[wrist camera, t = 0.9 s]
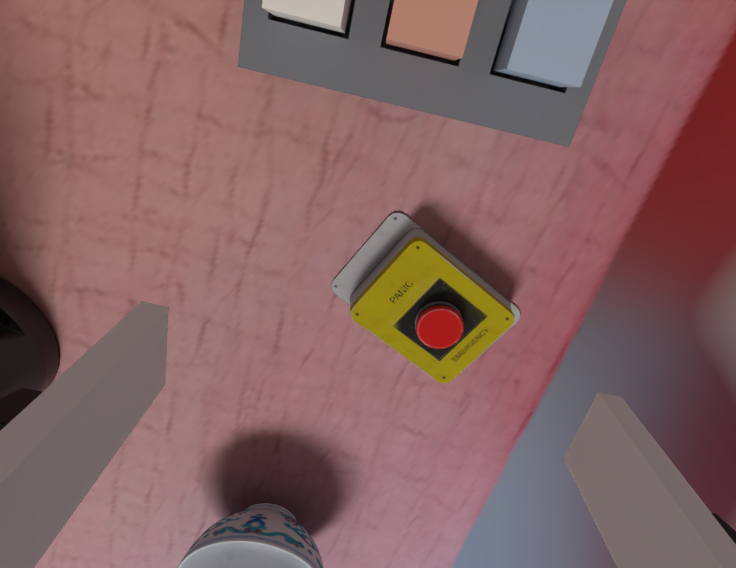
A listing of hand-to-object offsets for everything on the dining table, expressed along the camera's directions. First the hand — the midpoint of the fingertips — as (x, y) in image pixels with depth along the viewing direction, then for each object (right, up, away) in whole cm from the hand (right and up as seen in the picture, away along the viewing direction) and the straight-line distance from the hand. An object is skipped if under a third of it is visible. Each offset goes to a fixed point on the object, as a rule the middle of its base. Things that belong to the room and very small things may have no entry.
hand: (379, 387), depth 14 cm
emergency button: (+5, +2, +27) cm, 27 cm away
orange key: (+3, +20, +14) cm, 24 cm away
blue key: (+10, +18, +14) cm, 25 cm away
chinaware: (-12, -24, +38) cm, 47 cm away
